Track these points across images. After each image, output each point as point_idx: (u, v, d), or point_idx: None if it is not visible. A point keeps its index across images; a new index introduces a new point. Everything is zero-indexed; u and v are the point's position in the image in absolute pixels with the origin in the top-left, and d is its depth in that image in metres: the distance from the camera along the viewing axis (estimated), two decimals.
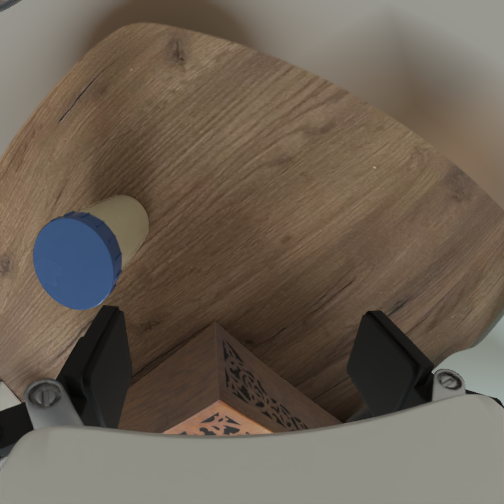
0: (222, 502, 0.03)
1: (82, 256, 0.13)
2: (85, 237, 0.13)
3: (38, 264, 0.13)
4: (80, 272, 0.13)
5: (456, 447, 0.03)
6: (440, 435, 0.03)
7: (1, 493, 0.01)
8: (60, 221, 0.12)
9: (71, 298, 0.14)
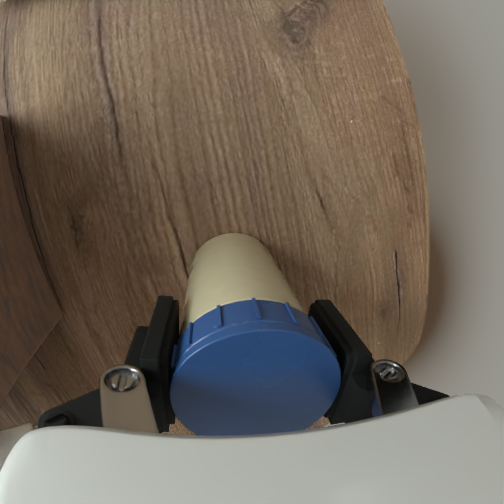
0: (223, 502, 0.03)
1: (259, 421, 0.08)
2: (280, 431, 0.08)
3: (301, 347, 0.07)
4: (238, 410, 0.08)
5: (456, 447, 0.03)
6: (440, 435, 0.03)
7: (1, 493, 0.01)
8: (325, 409, 0.08)
9: (202, 376, 0.07)
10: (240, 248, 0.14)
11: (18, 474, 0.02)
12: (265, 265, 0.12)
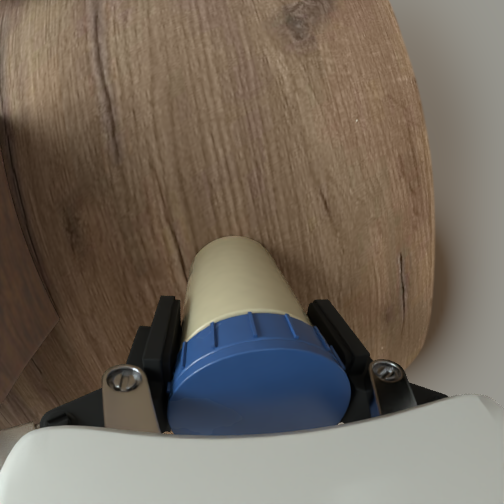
0: (222, 502, 0.03)
1: (299, 411, 0.07)
2: (327, 389, 0.07)
3: (184, 402, 0.06)
4: (276, 429, 0.07)
5: (456, 447, 0.03)
6: (440, 435, 0.03)
7: (1, 493, 0.01)
8: (297, 355, 0.06)
9: None
10: (242, 253, 0.13)
11: (18, 474, 0.02)
12: (268, 271, 0.12)
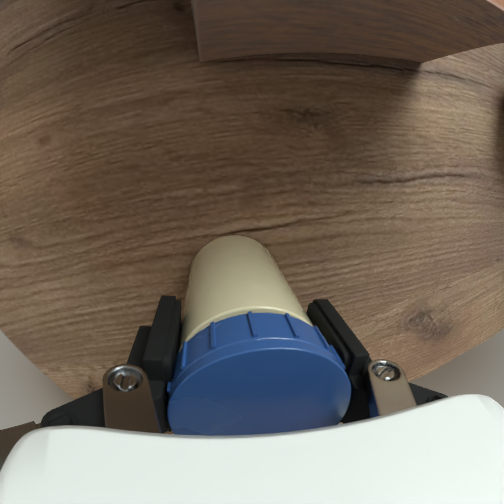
0: (222, 502, 0.03)
1: (300, 411, 0.07)
2: (327, 388, 0.07)
3: (184, 402, 0.06)
4: (276, 428, 0.07)
5: (456, 447, 0.03)
6: (440, 435, 0.03)
7: (1, 493, 0.01)
8: (296, 354, 0.06)
9: None
10: None
11: (18, 474, 0.02)
12: None
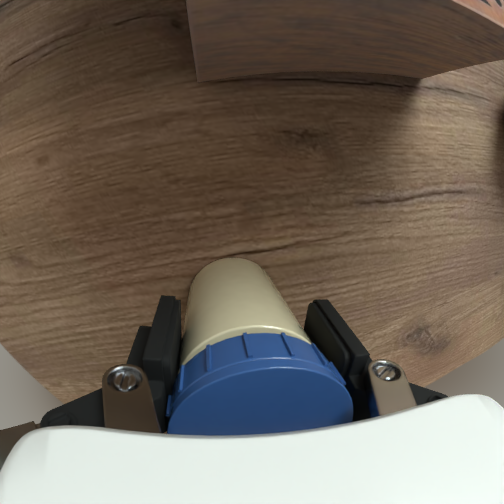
0: (222, 502, 0.03)
1: (256, 416, 0.06)
2: (222, 401, 0.06)
3: None
4: (284, 427, 0.07)
5: (456, 447, 0.03)
6: (440, 435, 0.03)
7: (1, 493, 0.01)
8: (173, 430, 0.06)
9: None
10: None
11: (18, 474, 0.02)
12: None
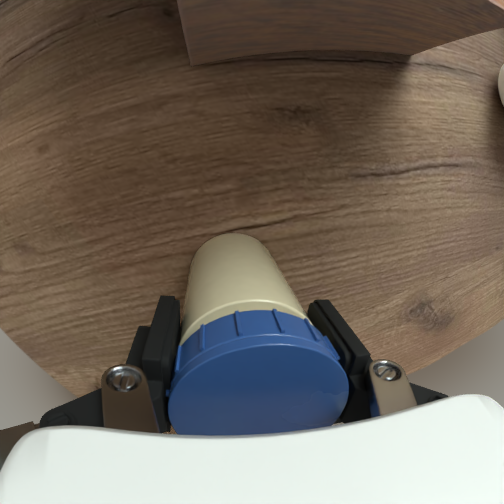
0: (222, 502, 0.03)
1: (226, 424, 0.07)
2: None
3: (328, 419, 0.08)
4: (243, 406, 0.07)
5: (456, 447, 0.03)
6: (440, 435, 0.03)
7: (1, 493, 0.01)
8: None
9: (296, 369, 0.07)
10: None
11: (18, 474, 0.02)
12: None
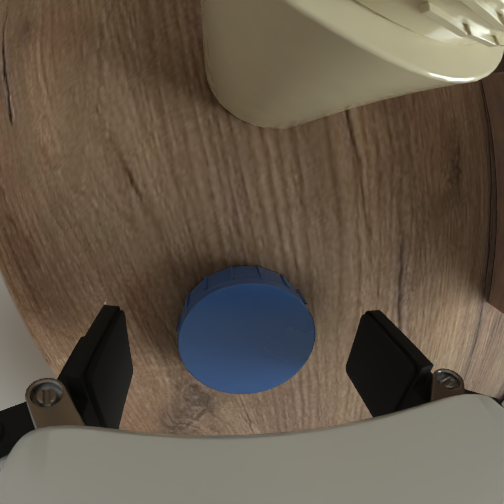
0: (222, 502, 0.03)
1: (221, 354, 0.10)
2: (207, 371, 0.11)
3: (301, 356, 0.11)
4: (234, 337, 0.10)
5: (456, 447, 0.03)
6: (440, 435, 0.03)
7: (1, 493, 0.01)
8: (237, 391, 0.11)
9: (272, 305, 0.10)
10: (291, 118, 0.07)
11: (18, 474, 0.02)
12: (272, 95, 0.05)
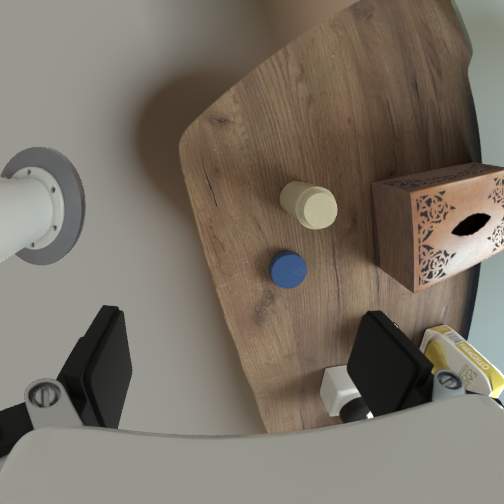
0: (222, 501, 0.03)
1: (282, 274, 0.41)
2: (278, 279, 0.42)
3: (303, 275, 0.42)
4: (286, 268, 0.41)
5: (456, 447, 0.03)
6: (440, 435, 0.03)
7: (1, 493, 0.01)
8: (285, 287, 0.42)
9: (295, 260, 0.41)
10: None
11: (18, 474, 0.02)
12: None
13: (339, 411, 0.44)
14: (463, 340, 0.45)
